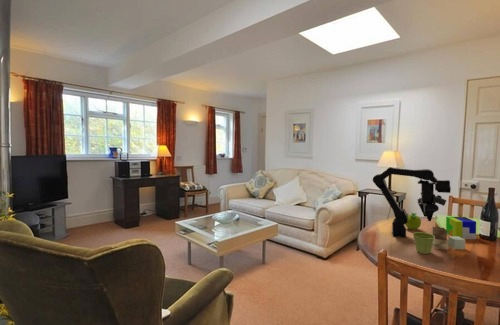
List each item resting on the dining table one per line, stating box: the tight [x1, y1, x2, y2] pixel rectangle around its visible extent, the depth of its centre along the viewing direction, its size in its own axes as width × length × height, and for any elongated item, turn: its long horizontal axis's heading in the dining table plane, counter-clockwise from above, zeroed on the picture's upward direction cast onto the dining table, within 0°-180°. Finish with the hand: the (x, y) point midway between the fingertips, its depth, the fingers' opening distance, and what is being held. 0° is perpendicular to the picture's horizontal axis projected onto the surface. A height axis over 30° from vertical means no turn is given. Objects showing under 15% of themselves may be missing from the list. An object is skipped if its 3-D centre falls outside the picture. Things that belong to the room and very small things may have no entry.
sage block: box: [447, 235, 466, 250], centre depth 135 cm, size 5×5×5 cm
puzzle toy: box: [445, 216, 477, 240], centre depth 151 cm, size 10×10×10 cm
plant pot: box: [412, 231, 435, 255], centre depth 131 cm, size 9×9×9 cm
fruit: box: [404, 212, 422, 231], centre depth 166 cm, size 9×9×10 cm
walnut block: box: [432, 226, 448, 240], centre depth 136 cm, size 5×5×5 cm
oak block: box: [432, 238, 450, 251], centre depth 136 cm, size 6×6×5 cm
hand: (427, 218), depth 147 cm, fingers open, 9 cm apart
